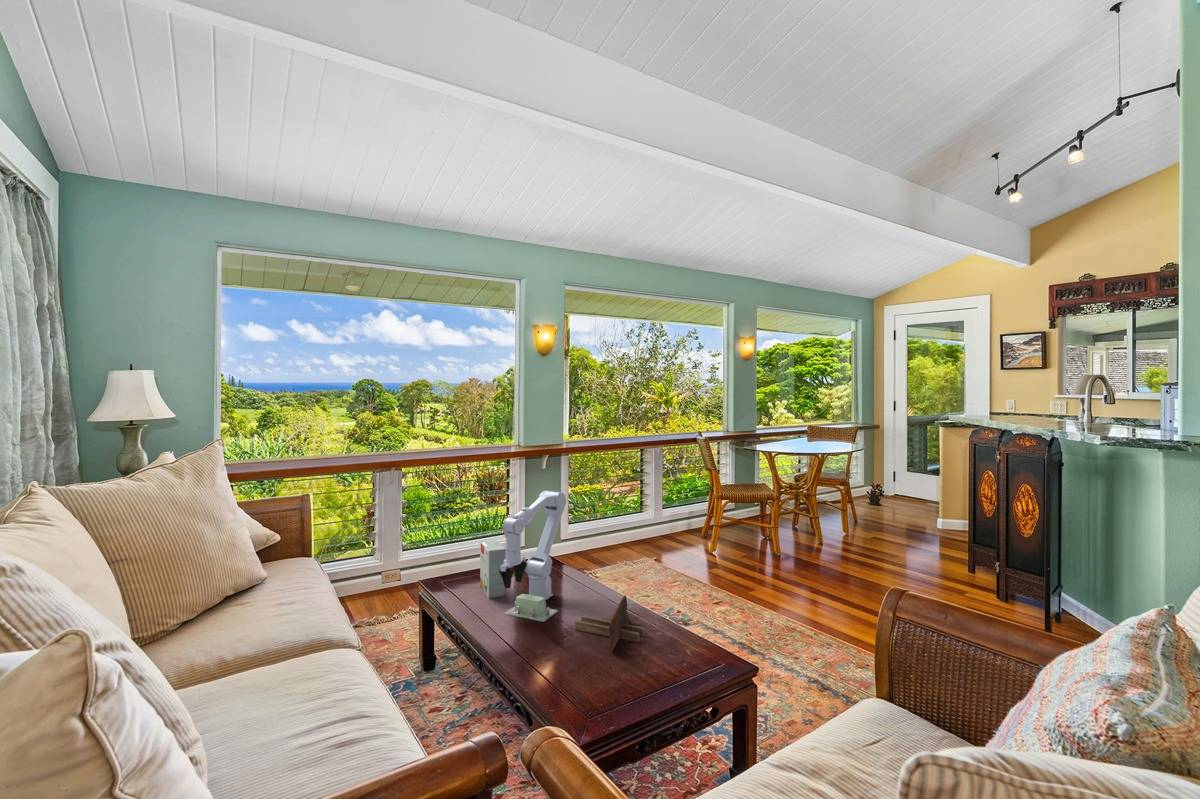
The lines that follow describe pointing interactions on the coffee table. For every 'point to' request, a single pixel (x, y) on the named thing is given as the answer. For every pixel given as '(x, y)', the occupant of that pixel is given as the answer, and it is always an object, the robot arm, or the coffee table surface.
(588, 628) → the tablet cradle
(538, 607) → the pale green block
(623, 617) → the wooden tablet
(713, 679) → the coffee table surface
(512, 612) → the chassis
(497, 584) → the hard drive box
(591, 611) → the coffee table surface
